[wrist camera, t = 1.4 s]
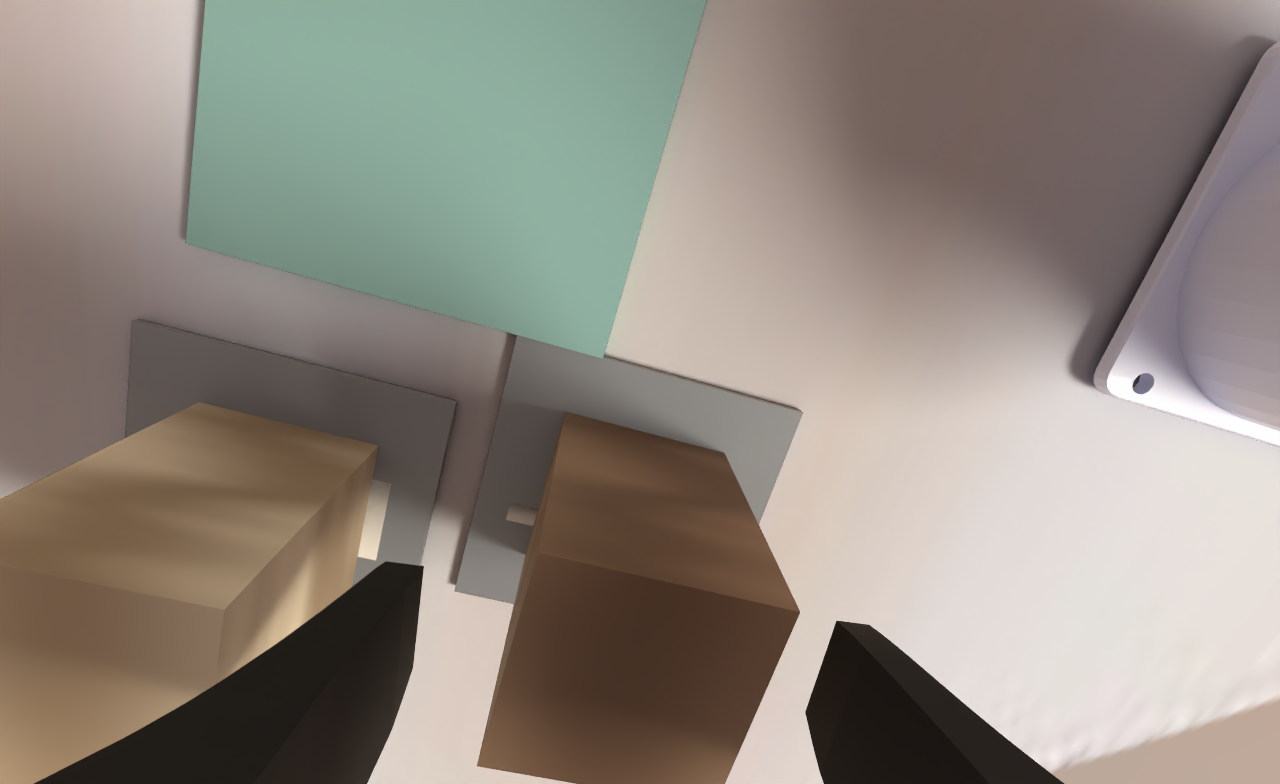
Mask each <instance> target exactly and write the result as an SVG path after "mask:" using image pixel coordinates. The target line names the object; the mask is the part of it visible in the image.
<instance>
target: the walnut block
mask: <svg viewBox="0 0 1280 784" xmlns="http://www.w3.org/2000/svg"><path fill="white" fill-rule="evenodd" d="M799 614H800V611H799V609H798V606H797V604H796V602H795V600H794V598H793V596H792V594H791V592H790V590H789V588H788V585H787V583H786V581H785V579H784V577H783V575H782V573H781V571H780V569H779V567H778V564H777V562H776V560H775V558H774V556H773V554H772V552H771V550H770V548H769V546H768V543H767V541H766V539H765V537H764V535H763V533H762V531H761V529H760V527H759V524H758V522H757V520H756V518H755V516H754V514H753V512H752V510H751V508H750V506H749V503H748V501H747V499H746V497H745V495H744V493H743V491H742V489H741V487H740V485H739V482H738V480H737V478H736V476H735V474H734V472H733V470H732V468H731V466H730V464H729V461H728V459H727V457H726V455H725V453H723V452H719V451H715V450H711V449H707V448H703V447H700V446H696V445H692V444H688V443H684V442H680V441H677V440H673V439H669V438H665V437H661V436H657V435H654V434H650V433H646V432H642V431H638V430H634V429H631V428H627V427H623V426H619V425H615V424H611V423H608V422H604V421H600V420H596V419H592V418H588V417H585V416H581V415H577V414H573V413H569V412H565V414H564V418H563V422H562V425H561V429H560V432H559V436H558V440H557V443H556V447H555V450H554V454H553V458H552V461H551V465H550V468H549V472H548V476H547V479H546V483H545V486H544V490H543V494H542V497H541V501H540V504H539V508H538V512H537V515H536V519H535V522H534V526H533V530H532V533H531V537H530V540H529V544H528V548H527V551H526V555H525V559H524V563H523V568H522V572H521V577H520V581H519V585H518V590H517V594H516V598H515V603H514V607H513V611H512V616H511V620H510V625H509V629H508V633H507V638H506V642H505V646H504V651H503V655H502V659H501V664H500V668H499V673H498V677H497V681H496V686H495V690H494V694H493V699H492V703H491V707H490V712H489V716H488V721H487V725H486V729H485V734H484V738H483V742H482V747H481V751H480V755H479V760H478V764H477V766H479V767H485V768H491V769H496V770H502V771H508V772H513V773H519V774H525V775H531V776H536V777H542V778H548V779H553V780H559V781H565V782H571V783H576V784H725V782H726V780H727V778H728V775H729V773H730V771H731V769H732V766H733V764H734V762H735V759H736V757H737V755H738V753H739V750H740V748H741V746H742V743H743V741H744V739H745V737H746V734H747V732H748V730H749V728H750V725H751V723H752V721H753V718H754V716H755V714H756V712H757V709H758V707H759V705H760V702H761V700H762V698H763V696H764V693H765V691H766V689H767V687H768V684H769V682H770V680H771V677H772V675H773V673H774V671H775V668H776V666H777V664H778V661H779V659H780V657H781V655H782V652H783V650H784V648H785V645H786V643H787V641H788V639H789V636H790V634H791V632H792V630H793V627H794V625H795V623H796V620H797V618H798V616H799Z"/></svg>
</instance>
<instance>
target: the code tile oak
mask: <svg viewBox="0 0 1280 784" xmlns="http://www.w3.org/2000/svg"><path fill="white" fill-rule="evenodd" d="M198 402H201V403H205V404H209V405H213V406H218V407H222V408H226V409H230V410H234V411H238V412H242V413H246V414H251V415H255V416H259V417H263V418H267V419H271V420H275V421H279V422H283V423H288V424H292V425H296V426H300V427H304V428H308V429H312V430H316V431H321V432H325V433H329V434H333V435H337V436H341V437H345V438H349V439H354V440H358V441H362V442H366V443H370V444H374V445H378V451H377V457H376V462H375V467H374V473H373V478H372V483H371V489H370V494H369V499H368V505H367V510H366V515H365V521H364V526H363V531H362V536H361V542H360V547H359V552H358V558H357V563H356V568H355V574H354V579H353V584H352V586H354V585H355V584H356V583H358V582H359V581H360V580H361V579H363V578H364V577H365V576H366V575H368V574H369V573H370V572H371V571H373V570H374V569H375V568H377V567H378V566H379V565H381V564H382V563H384V562H385V561H388V562H396V563H404V564H411V565H419V566H420V565H421V561H422V556H423V552H424V547H425V543H426V538H427V534H428V529H429V525H430V520H431V516H432V511H433V507H434V502H435V498H436V493H437V489H438V484H439V480H440V476H441V471H442V467H443V462H444V458H445V453H446V449H447V444H448V440H449V435H450V431H451V426H452V422H453V417H454V413H455V408H456V404H457V401H455V400H451V399H447V398H443V397H440V396H436V395H432V394H428V393H424V392H420V391H416V390H412V389H408V388H405V387H401V386H397V385H393V384H389V383H385V382H381V381H377V380H373V379H370V378H366V377H362V376H358V375H354V374H350V373H346V372H342V371H338V370H334V369H331V368H327V367H323V366H319V365H315V364H311V363H307V362H303V361H299V360H296V359H292V358H288V357H284V356H280V355H276V354H272V353H268V352H264V351H261V350H257V349H253V348H249V347H245V346H241V345H237V344H233V343H229V342H226V341H222V340H218V339H214V338H210V337H206V336H202V335H198V334H194V333H190V332H187V331H183V330H179V329H175V328H171V327H167V326H163V325H159V324H155V323H152V322H148V321H144V320H140V319H138V320H134V321H132V332H131V349H130V365H129V382H128V399H127V416H126V433H125V438H127V437H129V436H131V435H133V434H135V433H137V432H139V431H141V430H143V429H145V428H147V427H149V426H151V425H153V424H155V423H157V422H160V421H162V420H164V419H166V418H168V417H170V416H172V415H174V414H176V413H178V412H180V411H182V410H184V409H186V408H188V407H190V406H192V405H194V404H196V403H198Z"/></svg>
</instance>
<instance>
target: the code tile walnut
mask: <svg viewBox="0 0 1280 784" xmlns="http://www.w3.org/2000/svg"><path fill="white" fill-rule="evenodd" d="M565 412H569V413H573V414H577V415H581V416H585V417H588V418H592V419H596V420H600V421H604V422H608V423H611V424H615V425H619V426H623V427H627V428H631V429H634V430H638V431H642V432H646V433H650V434H654V435H657V436H661V437H665V438H669V439H673V440H677V441H680V442H684V443H688V444H692V445H696V446H700V447H703V448H707V449H711V450H715V451H719V452H723V453H725V455H726V457H727V459H728V461H729V464H730V466H731V468H732V470H733V472H734V474H735V476H736V478H737V480H738V482H739V485H740V487H741V489H742V491H743V493H744V495H745V497H746V499H747V501H748V503H749V506H750V508H751V510H752V512H753V514H754V516H755V518H756V520H757V522H758V524H759V523H760V520H761V518H762V515H763V512H764V510H765V507H766V505H767V502H768V500H769V497H770V495H771V492H772V490H773V487H774V485H775V482H776V480H777V477H778V475H779V472H780V470H781V467H782V465H783V462H784V460H785V457H786V454H787V452H788V449H789V447H790V444H791V442H792V439H793V437H794V434H795V432H796V429H797V427H798V424H799V422H800V419H801V417H802V414H803V412H802V411H801V410H798V409H795V408H791V407H787V406H784V405H780V404H777V403H773V402H769V401H766V400H762V399H758V398H755V397H751V396H748V395H744V394H740V393H737V392H733V391H730V390H726V389H722V388H719V387H715V386H711V385H708V384H704V383H701V382H697V381H693V380H690V379H686V378H682V377H679V376H675V375H672V374H668V373H664V372H661V371H657V370H654V369H650V368H646V367H643V366H639V365H635V364H632V363H628V362H625V361H621V360H617V359H614V358H610V357H607V356H604V357H603V359H602V358H599V357H595V356H591V355H588V354H584V353H580V352H577V351H573V350H570V349H566V348H562V347H559V346H555V345H551V344H548V343H544V342H541V341H537V340H533V339H530V338H526V337H522V336H519V335H517V338H516V342H515V346H514V350H513V354H512V358H511V362H510V366H509V370H508V374H507V378H506V383H505V387H504V391H503V395H502V399H501V403H500V407H499V411H498V415H497V419H496V423H495V427H494V432H493V436H492V440H491V444H490V448H489V452H488V456H487V460H486V464H485V468H484V472H483V477H482V481H481V485H480V489H479V493H478V497H477V501H476V505H475V509H474V513H473V517H472V522H471V526H470V530H469V534H468V538H467V542H466V546H465V550H464V554H463V558H462V562H461V566H460V571H459V575H458V579H457V583H456V587H455V592H460V593H465V594H470V595H474V596H479V597H484V598H488V599H493V600H498V601H502V602H507V603H512V604H514V603H515V598H516V594H517V590H518V585H519V581H520V577H521V572H522V568H523V563H524V559H525V555H526V551H527V548H528V544H529V540H530V537H531V533H532V530H533V526H534V522H535V519H536V515H537V512H538V508H539V504H540V501H541V497H542V494H543V490H544V486H545V483H546V479H547V476H548V472H549V468H550V465H551V461H552V458H553V454H554V450H555V447H556V443H557V440H558V436H559V432H560V429H561V425H562V422H563V418H564V414H565Z"/></svg>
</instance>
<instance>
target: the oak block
mask: <svg viewBox="0 0 1280 784" xmlns="http://www.w3.org/2000/svg"><path fill="white" fill-rule="evenodd" d="M377 451H378V445H374V444H370V443H366V442H362V441H358V440H354V439H349V438H345V437H341V436H337V435H333V434H329V433H325V432H321V431H316V430H312V429H308V428H304V427H300V426H296V425H292V424H288V423H283V422H279V421H275V420H271V419H267V418H263V417H259V416H255V415H251V414H246V413H242V412H238V411H234V410H230V409H226V408H222V407H218V406H213V405H209V404H205V403H201V402H198V403H196V404H194V405H192V406H190V407H188V408H186V409H184V410H182V411H180V412H178V413H176V414H174V415H172V416H170V417H168V418H166V419H164V420H162V421H160V422H157V423H155V424H153V425H151V426H149V427H147V428H145V429H143V430H141V431H139V432H137V433H135V434H133V435H131V436H129V437H127V438H125V439H123V440H121V441H119V442H116V443H114V444H112V445H110V446H108V447H106V448H104V449H102V450H100V451H98V452H96V453H94V454H92V455H90V456H88V457H86V458H84V459H82V460H80V461H78V462H75V463H73V464H71V465H69V466H67V467H65V468H63V469H61V470H59V471H57V472H55V473H53V474H51V475H49V476H47V477H45V478H43V479H41V480H39V481H37V482H34V483H32V484H30V485H28V486H26V487H24V488H22V489H20V490H18V491H16V492H14V493H12V494H10V495H8V496H6V497H4V498H2V499H0V784H34V783H36V782H38V781H40V780H42V779H44V778H46V777H48V776H50V775H52V774H54V773H56V772H58V771H59V770H61V769H63V768H65V767H67V766H69V765H71V764H73V763H75V762H77V761H79V760H81V759H83V758H85V757H87V756H89V755H91V754H93V753H95V752H97V751H99V750H101V749H103V748H105V747H107V746H109V745H111V744H113V743H115V742H117V741H119V740H121V739H123V738H124V737H126V736H128V735H130V734H132V733H134V732H135V731H137V730H139V729H141V728H143V727H144V726H146V725H148V724H150V723H151V722H153V721H155V720H157V719H158V718H160V717H162V716H164V715H165V714H167V713H169V712H171V711H172V710H174V709H176V708H178V707H179V706H181V705H183V704H185V703H186V702H188V701H190V700H191V699H193V698H194V697H196V696H198V695H199V694H201V693H203V692H204V691H206V690H207V689H209V688H211V687H212V686H214V685H215V684H217V683H218V682H220V681H222V680H223V679H225V678H226V677H228V676H229V675H231V674H232V673H234V672H235V671H237V670H238V669H240V668H241V667H243V666H244V665H246V664H247V663H248V662H250V661H251V660H253V659H254V658H256V657H257V656H259V655H260V654H262V653H263V652H265V651H266V650H268V649H269V648H271V647H272V646H274V645H275V644H277V643H278V642H279V641H281V640H282V639H284V638H285V637H286V636H288V635H289V634H290V633H292V632H293V631H294V630H296V629H297V628H299V627H300V626H301V625H303V624H304V623H305V622H307V621H308V620H309V619H311V618H312V617H313V616H315V615H316V614H318V613H319V612H320V611H322V610H323V609H324V608H325V607H327V606H328V605H329V604H331V603H332V602H333V601H335V600H336V599H337V598H338V597H340V596H341V595H342V594H344V593H345V592H346V591H347V590H349V589H350V588H351V587H352V584H353V579H354V574H355V568H356V563H357V558H358V552H359V547H360V542H361V536H362V531H363V526H364V521H365V515H366V510H367V505H368V499H369V494H370V489H371V483H372V478H373V473H374V467H375V462H376V457H377Z"/></svg>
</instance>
